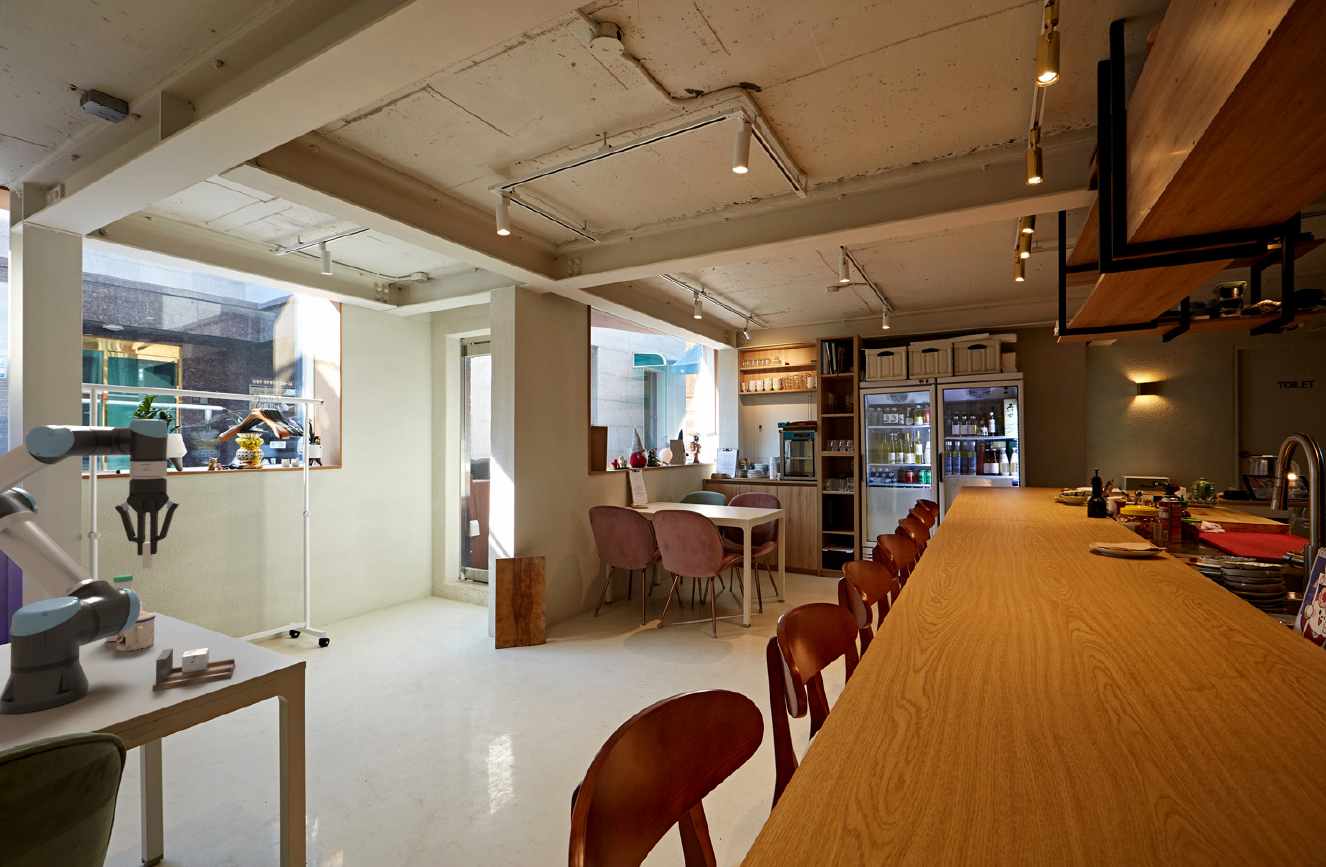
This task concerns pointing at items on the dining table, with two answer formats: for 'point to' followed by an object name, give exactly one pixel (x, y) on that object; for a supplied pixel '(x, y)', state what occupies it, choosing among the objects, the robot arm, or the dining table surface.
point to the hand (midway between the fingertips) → (147, 567)
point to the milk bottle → (124, 582)
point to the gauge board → (174, 676)
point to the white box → (195, 661)
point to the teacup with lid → (138, 634)
